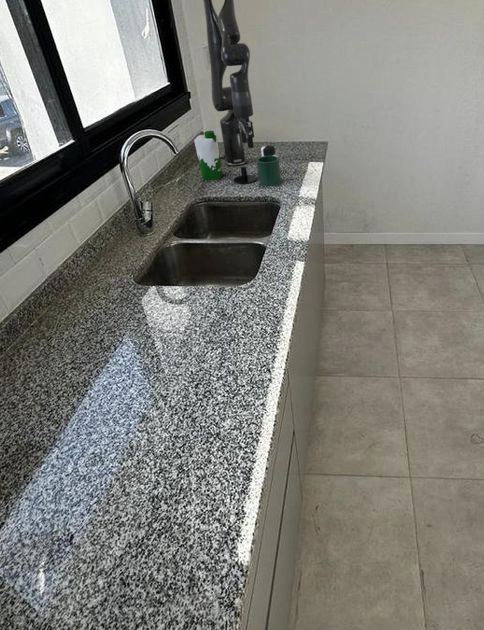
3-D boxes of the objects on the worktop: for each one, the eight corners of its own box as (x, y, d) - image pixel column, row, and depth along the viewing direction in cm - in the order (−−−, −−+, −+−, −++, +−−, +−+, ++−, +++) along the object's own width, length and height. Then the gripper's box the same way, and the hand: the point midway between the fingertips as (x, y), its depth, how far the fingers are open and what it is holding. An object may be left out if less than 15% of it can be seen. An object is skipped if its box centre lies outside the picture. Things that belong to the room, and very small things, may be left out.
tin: (257, 182, 191) (254, 157, 185) (277, 178, 194) (274, 154, 188) (263, 189, 184) (260, 164, 178) (284, 185, 187) (281, 160, 181)
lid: (231, 180, 194) (229, 166, 191) (253, 176, 198) (251, 162, 194) (237, 187, 187) (234, 172, 183) (259, 183, 190) (257, 168, 186)
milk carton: (220, 181, 193) (211, 134, 181) (200, 182, 194) (190, 135, 182) (225, 175, 200) (217, 129, 188) (205, 175, 201) (196, 129, 189)
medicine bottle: (279, 171, 202) (277, 144, 194) (276, 176, 196) (274, 149, 189) (264, 171, 202) (261, 144, 195) (261, 176, 197) (257, 149, 189)
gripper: (256, 105, 168) (261, 148, 178) (246, 98, 179) (251, 139, 188) (237, 107, 166) (244, 151, 176) (228, 100, 176) (234, 142, 186)
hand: (248, 145), depth 182 cm, fingers open, 8 cm apart
